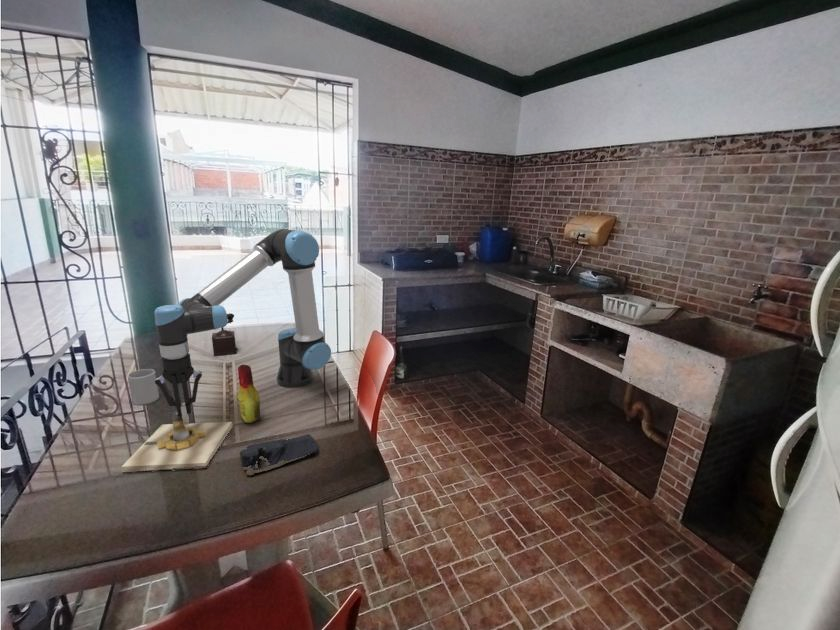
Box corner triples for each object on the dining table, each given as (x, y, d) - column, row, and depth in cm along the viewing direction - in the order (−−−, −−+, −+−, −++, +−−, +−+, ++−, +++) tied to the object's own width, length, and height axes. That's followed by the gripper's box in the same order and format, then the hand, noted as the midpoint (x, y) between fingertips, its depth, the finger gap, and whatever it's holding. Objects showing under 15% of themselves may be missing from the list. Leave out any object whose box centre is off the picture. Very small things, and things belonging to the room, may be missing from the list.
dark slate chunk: (322, 460, 117) (321, 446, 116) (242, 481, 107) (240, 466, 106) (311, 434, 130) (310, 421, 129) (239, 450, 120) (237, 437, 119)
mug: (154, 403, 146) (150, 376, 143) (128, 406, 143) (123, 378, 141) (165, 389, 157) (161, 364, 154) (141, 391, 155) (136, 366, 152)
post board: (232, 427, 132) (231, 413, 131) (206, 468, 111) (204, 453, 110) (163, 429, 129) (160, 416, 128) (122, 472, 108) (119, 457, 107)
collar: (199, 419, 132) (198, 405, 131) (206, 441, 120) (205, 427, 118) (156, 429, 125) (153, 416, 124) (158, 455, 113) (156, 439, 111)
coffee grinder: (238, 353, 197) (234, 319, 192) (213, 356, 192) (209, 321, 188) (237, 344, 210) (234, 312, 206) (214, 346, 206) (210, 313, 201)
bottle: (237, 412, 141) (232, 361, 136) (256, 408, 145) (251, 358, 140) (243, 428, 132) (238, 373, 126) (263, 422, 135) (259, 369, 130)
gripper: (200, 348, 126) (209, 413, 133) (152, 353, 121) (164, 421, 127) (198, 356, 120) (208, 424, 126) (148, 362, 114) (161, 433, 121)
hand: (186, 422), depth 127 cm, fingers closed
